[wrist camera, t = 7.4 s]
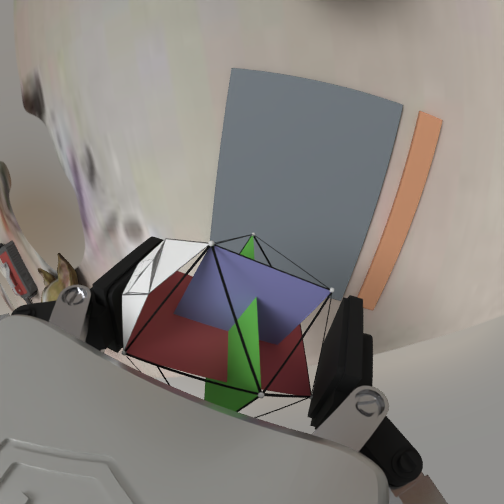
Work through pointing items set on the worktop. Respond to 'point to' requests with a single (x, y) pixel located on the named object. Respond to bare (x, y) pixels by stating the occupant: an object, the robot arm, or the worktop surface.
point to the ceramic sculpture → (58, 280)
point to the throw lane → (314, 177)
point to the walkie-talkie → (17, 272)
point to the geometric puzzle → (221, 321)
